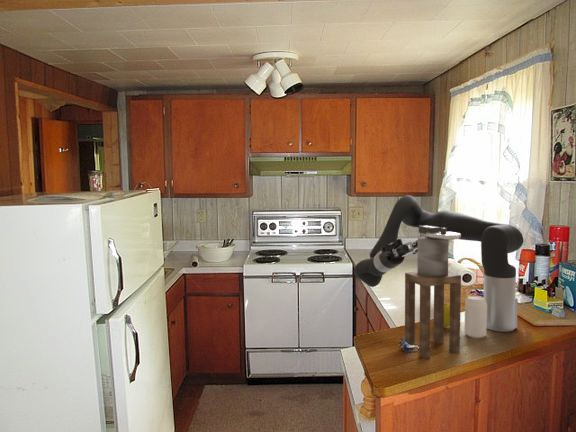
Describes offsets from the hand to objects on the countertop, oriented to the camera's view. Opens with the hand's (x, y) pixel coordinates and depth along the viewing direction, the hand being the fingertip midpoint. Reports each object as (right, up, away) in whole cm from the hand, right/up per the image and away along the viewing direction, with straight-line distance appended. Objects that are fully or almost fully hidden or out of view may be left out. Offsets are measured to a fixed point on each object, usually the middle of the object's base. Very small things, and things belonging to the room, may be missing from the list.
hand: (412, 240), depth 141 cm
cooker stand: (+2, -31, -12) cm, 33 cm away
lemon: (+12, -29, +5) cm, 32 cm away
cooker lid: (+4, +2, -12) cm, 13 cm away
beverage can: (+19, -30, -2) cm, 35 cm away
